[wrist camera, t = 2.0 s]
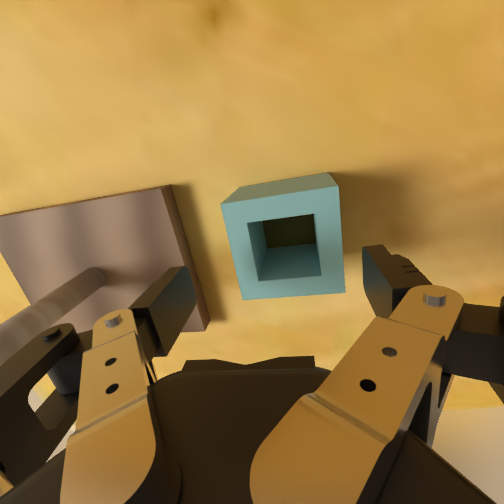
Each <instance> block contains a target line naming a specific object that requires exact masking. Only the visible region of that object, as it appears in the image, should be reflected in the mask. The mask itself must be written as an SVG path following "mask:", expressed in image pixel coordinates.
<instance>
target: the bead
mask: <svg viewBox="0 0 504 504" xmlns="http://www.w3.org/2000/svg"><path fill="white" fill-rule="evenodd" d="M220 205H221V209H222V213H223V218H224V222H225V226H226V230H227V235H228V239H229V243H230V248H231V252H232V256H233V261H234V265H235V269H236V273H237V278H238V282H239V286H240V291H241V295H242V299H243V300H251V299H265V298H279V297H293V296H307V295H321V294H334V293H345V279H344V264H343V248H342V232H341V217H340V201H339V186H338V185H337V183H336V182H335V181H334V179H333V178H332V177H331V176H330V174H329V173H322V174H316V175H310V176H304V177H298V178H292V179H286V180H280V181H274V182H268V183H262V184H256V185H250V186H244V187H239V188H238V189H237V190H236V191H235V192H233V193H232V194H231V195H230V196H229V197H228V198H227V199H226V200H225V201H223V202H222V203H221V204H220ZM308 214H313V217H314V227H315V236H316V243H311V244H302V245H293V246H284V247H275V248H267V243H266V238H265V232H264V226H263V221H264V220H271V219H278V218H286V217H293V216H300V215H308Z"/></svg>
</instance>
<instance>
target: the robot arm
mask: <svg viewBox="0 0 504 504" xmlns="http://www.w3.org/2000/svg"><path fill="white" fill-rule="evenodd" d="M362 263H363V285H364V290H365V293H366V296H367V298H368V300H369V302H370V304H371V306H372V308H373V311H374V313H375V315H376V317H375V318H374V319H373V321H372V322H371V323H370V324H369V326H368V327H367V328H366V329H365V331H364V332H363V333H362V334H361V336H360V337H359V338H358V339H357V341H356V342H355V343H354V344H353V346H352V347H351V348H350V349H349V351H348V352H347V353H346V354H345V356H344V357H343V358H342V359H341V361H340V362H339V363H338V364H337V366H336V367H335V368H334V369H333V371H330V370H327V369H324V368H320V367H315V361H314V356H296V357H278V358H274V359H270V360H265V361H261V362H257V363H253V364H248V365H243V364H237V363H232V362H227V361H222V360H217V359H210V360H186V362H185V364H184V366H183V369H182V371H178V372H176V373H173V374H170V375H168V376H165V377H163V378H161V379H159V380H158V377H157V374H156V370H155V367H154V364H153V362H152V359H153V357H164V356H167V355H168V353H169V351H170V350H171V348H172V346H173V345H174V343H175V341H176V339H177V338H178V336H179V334H180V332H181V331H182V329H183V327H184V325H185V324H186V322H187V320H188V319H189V317H190V315H191V313H192V312H193V310H194V308H195V306H196V301H197V298H196V292H195V289H194V286H193V282H192V279H191V275H190V272H189V269H188V268H187V267H186V266H178V267H170V268H169V269H168V270H167V271H166V272H165V273H164V274H163V275H162V276H161V277H160V278H159V279H158V280H157V281H155V282H154V283H152V284H151V285H150V286H149V287H148V288H147V289H146V291H144V292H143V293H142V294H141V296H139V297H138V298H137V299H136V301H135V302H134V303H133V304H132V305H131V306H130V307H129V308H128V309H119V310H116V311H113V312H110V313H108V314H106V315H104V316H103V317H101V318H100V319H99V320H97V321H96V323H95V324H94V326H93V329H92V330H89V331H85V332H81V333H77V332H76V330H75V328H74V326H73V324H71V323H64V324H59V325H56V326H54V327H51V328H49V329H47V330H45V331H43V332H42V333H40V334H39V335H37V336H36V337H35V338H33V339H32V340H31V341H30V342H29V343H27V344H26V345H25V346H24V347H22V348H21V349H20V350H19V351H18V352H16V353H15V354H14V355H13V356H11V357H10V358H9V359H8V360H6V361H5V362H4V363H3V364H2V365H0V504H496V503H495V502H494V501H493V500H492V499H491V498H489V497H488V496H487V495H486V494H484V493H483V492H482V491H481V490H480V489H479V488H478V487H476V486H475V485H474V484H473V483H472V482H470V481H469V480H468V479H467V478H466V477H465V476H463V475H462V474H461V473H460V472H459V471H457V470H456V469H455V468H454V467H453V466H451V465H450V464H449V463H448V462H447V461H446V460H444V459H443V458H442V457H441V456H439V454H437V453H436V452H435V451H434V450H433V449H431V448H432V444H433V440H434V436H435V431H436V426H437V423H438V420H439V417H440V414H441V411H442V409H443V406H444V403H445V400H446V398H447V395H448V392H449V389H450V387H451V384H452V381H453V378H454V375H458V376H463V377H468V378H472V379H477V380H482V381H487V382H489V384H490V385H491V387H492V388H493V390H494V391H495V392H496V394H497V395H498V397H499V398H500V399H501V401H502V402H503V404H504V296H503V297H502V299H501V303H500V307H493V306H482V305H473V304H467V303H464V299H463V297H462V296H461V295H460V294H459V293H457V292H456V291H454V290H452V289H449V288H446V287H442V286H437V285H433V284H432V283H431V282H430V281H429V280H428V279H427V278H426V277H425V276H424V275H423V274H422V273H421V272H419V270H418V269H417V268H416V267H414V265H413V263H412V262H411V261H410V260H409V259H407V258H405V257H402V256H400V255H398V254H396V255H391V254H390V253H389V252H388V251H387V249H386V248H385V247H384V246H383V245H374V246H364V247H363V249H362ZM46 373H47V374H48V376H49V377H50V379H51V380H52V382H53V384H54V385H55V387H56V389H55V390H54V391H53V392H52V393H51V395H50V396H49V397H48V398H47V399H46V400H45V401H44V402H43V404H42V405H41V406H40V407H39V408H38V409H37V411H36V412H35V413H34V411H33V410H32V408H31V407H30V405H29V404H28V395H29V392H30V390H31V389H32V388H33V386H34V385H35V384H36V383H37V382H38V381H39V380H40V379H41V378H42V377H43V376H44V375H45V374H46ZM76 419H77V423H76V430H75V432H74V433H73V434H72V435H70V436H69V438H68V441H67V445H66V448H65V449H64V450H62V451H61V452H60V453H58V454H57V455H56V456H54V457H53V458H52V459H50V460H49V461H48V462H46V461H47V460H48V458H49V457H50V455H51V454H52V453H53V451H54V450H55V448H56V447H57V446H58V444H59V443H60V442H61V440H62V439H63V437H64V436H65V434H66V433H67V432H68V430H69V429H70V428H71V426H72V425H73V423H74V422H75V421H76Z"/></svg>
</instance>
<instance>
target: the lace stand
mask: <svg viewBox="0 0 504 504" xmlns="http://www.w3.org/2000/svg"><path fill="white" fill-rule="evenodd" d="M0 252H1V254H2V256H3V257H4V259H5V261H6V263H7V264H8V266H9V268H10V269H11V271H12V273H13V275H14V276H15V278H16V280H17V281H18V283H19V285H20V287H21V288H22V290H23V292H24V293H25V295H26V297H27V299H28V300H29V302H30V304H31V305H30V306H28V307H27V308H25V309H24V310H22V311H20V312H19V313H17V314H16V315H14V316H13V317H11V318H9V319H8V320H6V321H5V322H3V323H2V324H0V365H1V364H2V363H4V362H5V361H6V360H8V359H9V358H10V357H11V356H13V355H14V354H15V353H16V352H18V351H19V350H20V349H21V348H22V347H24V346H25V345H26V344H27V343H29V342H30V341H31V340H32V339H33V338H35V337H36V336H37V335H39V334H40V333H42V332H43V331H45V330H47V329H49V328H51V327H54V326H56V325H59V324H64V323H71V324H73V326H74V328H75V330H76V332H77V333H81V332H85V331H89V330H92V329H93V326H94V324H95V323H96V321H97V320H99V319H100V318H101V317H103V316H104V315H106V314H108V313H110V312H113V311H116V310H119V309H128V308H129V307H130V306H131V305H132V304H133V303H134V302H135V301H136V299H137V298H138V297H139V296H141V294H142V293H143V292H144V291H146V289H147V288H148V287H149V286H150V285H151V284H152V283H154V282H155V281H157V280H158V279H159V278H160V277H161V276H162V275H163V274H164V273H165V272H166V271H167V270H168V269H169V268H170V267H178V266H186V267H187V268H188V269H189V272H190V275H191V279H192V282H193V286H194V289H195V292H196V298H197V301H196V306H195V308H194V310H193V312H192V313H191V315H190V317H189V319H188V320H187V322H186V324H185V325H184V327H183V329H182V331H181V332H200V331H205V330H206V328H207V326H208V324H209V322H210V318H209V314H208V311H207V307H206V304H205V301H204V297H203V294H202V291H201V287H200V284H199V280H198V277H197V274H196V270H195V267H194V263H193V260H192V257H191V253H190V250H189V247H188V243H187V240H186V236H185V233H184V230H183V226H182V223H181V219H180V216H179V213H178V209H177V206H176V203H175V199H174V196H173V192H172V189H171V186H170V185H165V186H160V187H154V188H148V189H143V190H137V191H132V192H126V193H121V194H115V195H110V196H104V197H98V198H93V199H87V200H82V201H76V202H71V203H65V204H60V205H54V206H48V207H43V208H37V209H32V210H26V211H21V212H15V213H10V214H4V215H0Z"/></svg>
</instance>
